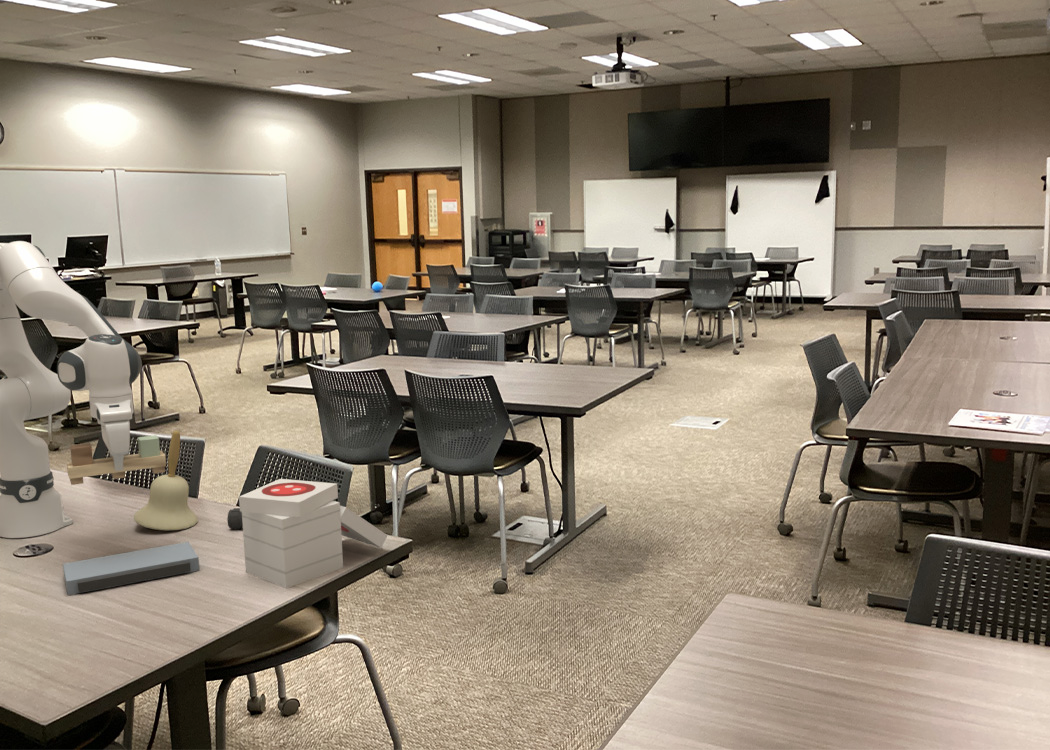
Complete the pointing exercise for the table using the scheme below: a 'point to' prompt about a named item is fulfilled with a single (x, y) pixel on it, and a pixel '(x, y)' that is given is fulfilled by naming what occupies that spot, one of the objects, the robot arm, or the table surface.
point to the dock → (129, 567)
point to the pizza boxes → (298, 531)
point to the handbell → (168, 498)
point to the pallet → (107, 467)
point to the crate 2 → (149, 446)
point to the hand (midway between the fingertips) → (117, 467)
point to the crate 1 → (81, 454)
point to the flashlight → (235, 519)
